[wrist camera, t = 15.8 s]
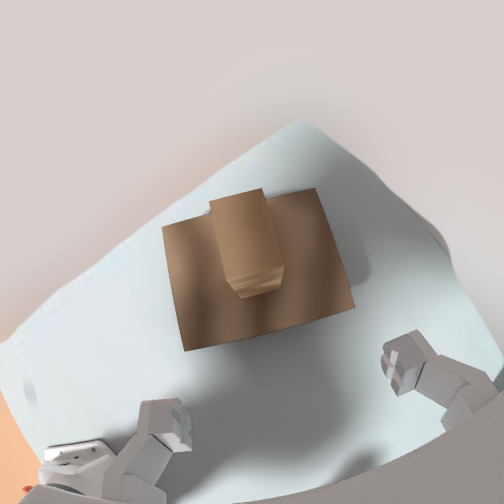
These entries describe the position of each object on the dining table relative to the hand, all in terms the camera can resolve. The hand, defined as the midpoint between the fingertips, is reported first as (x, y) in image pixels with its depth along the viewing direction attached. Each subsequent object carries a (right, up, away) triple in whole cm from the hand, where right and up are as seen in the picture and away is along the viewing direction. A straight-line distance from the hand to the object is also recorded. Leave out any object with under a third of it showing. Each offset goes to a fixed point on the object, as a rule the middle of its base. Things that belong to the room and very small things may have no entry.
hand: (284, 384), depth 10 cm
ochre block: (-1, +3, +20) cm, 20 cm away
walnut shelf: (-1, +2, +25) cm, 25 cm away
